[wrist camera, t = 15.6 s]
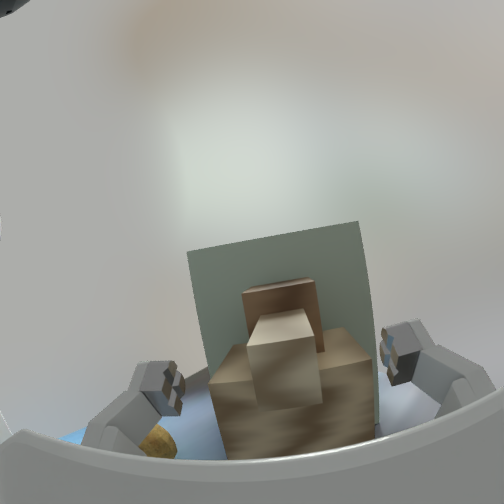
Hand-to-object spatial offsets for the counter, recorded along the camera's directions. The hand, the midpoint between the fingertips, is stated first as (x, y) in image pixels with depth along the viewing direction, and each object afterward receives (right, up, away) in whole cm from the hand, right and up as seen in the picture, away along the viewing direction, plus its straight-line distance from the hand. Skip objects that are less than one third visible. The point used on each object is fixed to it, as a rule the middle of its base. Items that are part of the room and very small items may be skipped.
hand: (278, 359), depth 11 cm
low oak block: (+5, -20, +13) cm, 24 cm away
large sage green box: (+6, -20, +27) cm, 34 cm away
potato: (-14, -23, +19) cm, 33 cm away
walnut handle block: (+2, -5, +12) cm, 13 cm away
